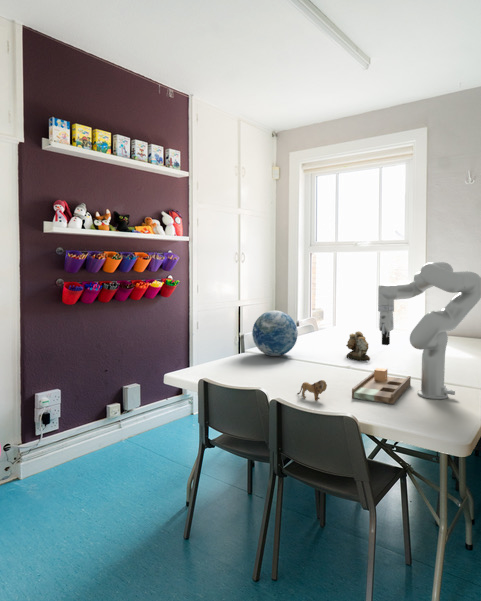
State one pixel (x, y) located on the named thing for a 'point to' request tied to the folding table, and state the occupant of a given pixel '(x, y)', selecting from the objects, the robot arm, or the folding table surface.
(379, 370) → the block
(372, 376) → the box
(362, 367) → the folding table surface
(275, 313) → the globe
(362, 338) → the brown lumpy sculpture
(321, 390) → the lion figurine
